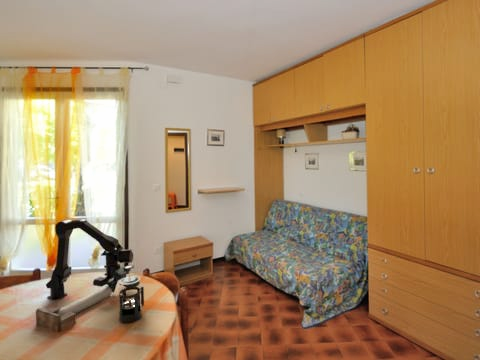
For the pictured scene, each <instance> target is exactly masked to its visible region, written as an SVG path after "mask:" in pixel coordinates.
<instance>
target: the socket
mask: <svg viewBox="0 0 480 360" xmlns="http://www.w3.org/2000/svg"><path fill="white" fill-rule="evenodd" d="M59 310H60V308H58V307H51V308H49V309H46V310H45V309H42V308H39V307H38V308H36V311H35V320H36V321H35V322H36V323H35V324H36V326H39V327H41V328H43V329H47V330H50V331H53V332H54V333H59V332H61V331H63V330H66V329H67V328H69V327H70V326H72V325H75V324H76V323H77V322H76V314H75V313H72V312H69V313H67V314H65V315H63V316H60V315H58V314H57V313H58V312H59Z"/></svg>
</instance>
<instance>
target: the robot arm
mask: <svg viewBox="0 0 480 360" xmlns="http://www.w3.org/2000/svg"><path fill="white" fill-rule="evenodd" d="M54 226H55V227H54V228H55V234H56V236H57V238H58V239H57V252H56V260H55V261H56V263H55V264H56V265H55V267H54V269H53V270H52V273H51V277H50V280H49V281H48V282H47V283H46V284H45V286H46V288H47V289H49V291H50V292H49V296H46V297H47V299H49V300H54V301H56V300H59V299H60V298H63V297H65V296H67V295H68V293H66V292H65V284H64V283H66V282H67V280H68V278H70V276H71V274H72V266H69V265H68V261H69V260H68V259H69V258H68V257H69V248H70V247H69V245H70V237H71V235H72V233H73V231H74V230H75V229H80V230H81V231H83V232H84V234H87V235H88V236H90V237H91V238H92V239H94V240H95V241H96V242H98V243H99V245H100V247H101V248H102V250H104V251H103V252H102V253H101V254H100V256H104V257H105V265H104V266H103V268H104V269H105V273H104V276H105V277H103V276H99V277H97V278H95V279H93V281H92V285H93V286H96V287H100V288H101V287H102V288H103V286H104V287H105V286H108V287H110V289H111V292H112V293H115V291H116V288H117V285H118V282H119V280H121V279H122V278H125V277H127V275H129V271H128V269H124V267H125V266H124V267H123V266H121V264H128V263H129V264H131V263H132V262H133V261H134V253H133V251H132V249H131V248H129V249H128V248H127V249H124V248H123V246H122V245H121V244H120V242H119V240H118V239H117V238H116V237H113V236H111V235H109V234H108V235H107V234H106V233H104V232H103V231H101V230H100V229H98V228H97V227H96V226H94V225H93V224H91V223H90V222H89V221H88V220H87V219H84V218H83V219H74V220H71V219H65V220H61V221H58V222H57V223H56V224H55V225H54Z"/></svg>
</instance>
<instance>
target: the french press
mask: <svg viewBox="0 0 480 360" xmlns="http://www.w3.org/2000/svg"><path fill="white" fill-rule="evenodd" d="M134 268H135V265H131V264H130V265H126V266H124V269H128V271H129V274H128V276H126V277H125V278H122V279H121V280H119V281H118V282H117V284H118V285H119V286H122V287H124V288H122V289H120V290H119V292H118V297H119V312H118V315H119V318H118V322H119V323H121V324H125V325H127V324H133V323H135V322H138V321H140V320H141V318H142V316H143V314H142V307H144V305H145V293H144V291H145V289H144V286H142V285H140V281H141V277H140V276H137V275H133V276H132V275H131V269H134ZM139 285H140V286H139ZM133 290H135V291H137V292H135V293H134V294H129V295H127V291H129V292H131V291H133ZM129 314H130V315H129Z"/></svg>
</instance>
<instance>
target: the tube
mask: <svg viewBox="0 0 480 360" xmlns="http://www.w3.org/2000/svg"><path fill="white" fill-rule="evenodd" d="M112 294H113V292H111V289H110V287H108V285H104V287H102V288H100V289H98V290H96V291H94V292H91V293H90V294H88V295H85V296H84V297H82V298H80V299H77V300H76V301H72V302H70V303H69V304H67V305H65V306H63V307H61V308H59V312H58V313H57V314H58V315H60V316H63V315H65V314H67V313H69V312H72V313H75V315H76V314H78V313H80V312H82V311H84V310H86V309H88V308H89V307H92V306H94V305H95V304H97V303H99V302H101V301H103V300H105V299H107V298H109V297H111V296H112Z"/></svg>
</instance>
